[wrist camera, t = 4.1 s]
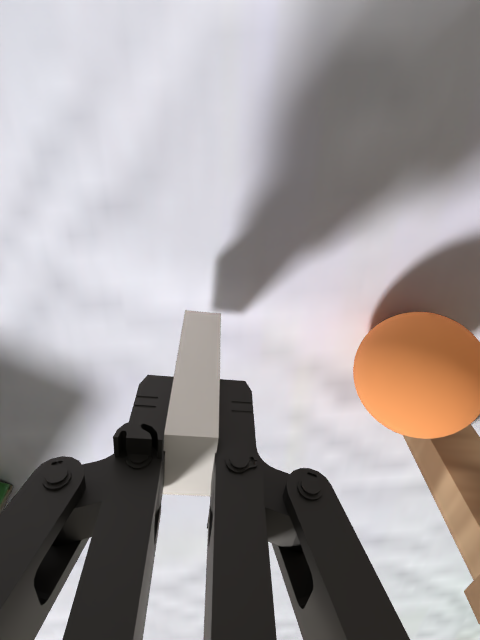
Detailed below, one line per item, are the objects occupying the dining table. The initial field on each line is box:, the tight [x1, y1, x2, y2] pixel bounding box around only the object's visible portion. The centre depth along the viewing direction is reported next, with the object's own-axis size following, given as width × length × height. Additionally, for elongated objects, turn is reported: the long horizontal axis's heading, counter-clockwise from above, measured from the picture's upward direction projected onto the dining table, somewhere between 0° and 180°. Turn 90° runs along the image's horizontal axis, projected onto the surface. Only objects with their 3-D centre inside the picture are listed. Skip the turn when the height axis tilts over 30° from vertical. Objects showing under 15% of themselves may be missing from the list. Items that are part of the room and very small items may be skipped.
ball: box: [353, 312, 480, 439], centre depth 17 cm, size 6×6×6 cm
